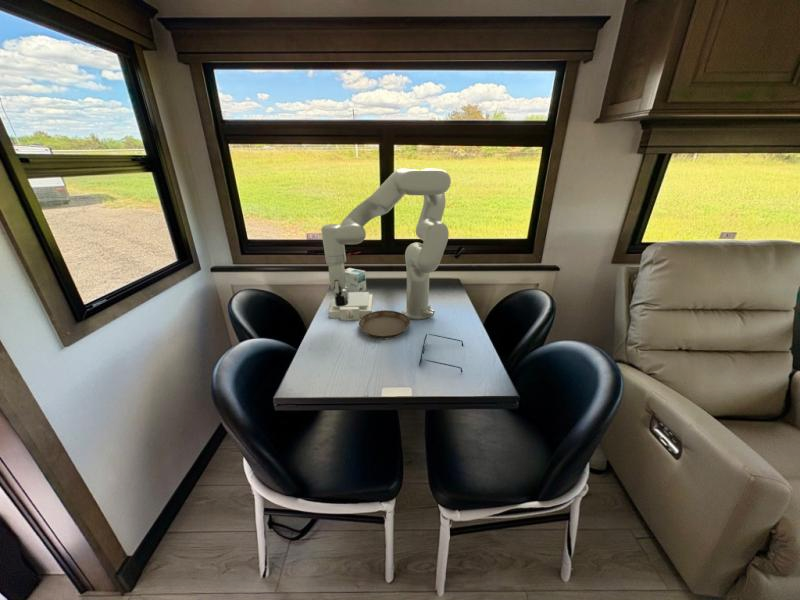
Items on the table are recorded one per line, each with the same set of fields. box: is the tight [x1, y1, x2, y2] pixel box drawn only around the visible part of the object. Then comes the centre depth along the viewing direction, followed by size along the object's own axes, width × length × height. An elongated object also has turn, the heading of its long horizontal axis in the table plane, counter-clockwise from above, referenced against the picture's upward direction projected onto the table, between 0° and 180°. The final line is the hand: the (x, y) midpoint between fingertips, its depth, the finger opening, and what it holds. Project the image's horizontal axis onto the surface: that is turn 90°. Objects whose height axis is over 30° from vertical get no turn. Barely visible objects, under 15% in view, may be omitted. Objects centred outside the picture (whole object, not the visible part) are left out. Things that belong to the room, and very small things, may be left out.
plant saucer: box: [358, 309, 411, 340], centre depth 134 cm, size 21×21×3 cm
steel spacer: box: [332, 287, 349, 306], centre depth 130 cm, size 5×5×6 cm
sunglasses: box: [418, 333, 464, 373], centre depth 115 cm, size 17×15×5 cm
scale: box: [328, 291, 374, 321], centre depth 149 cm, size 18×21×5 cm
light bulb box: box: [345, 267, 367, 292], centre depth 169 cm, size 11×7×11 cm, turn 58°
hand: (341, 301), depth 131 cm, fingers closed on steel spacer, 5 cm apart
